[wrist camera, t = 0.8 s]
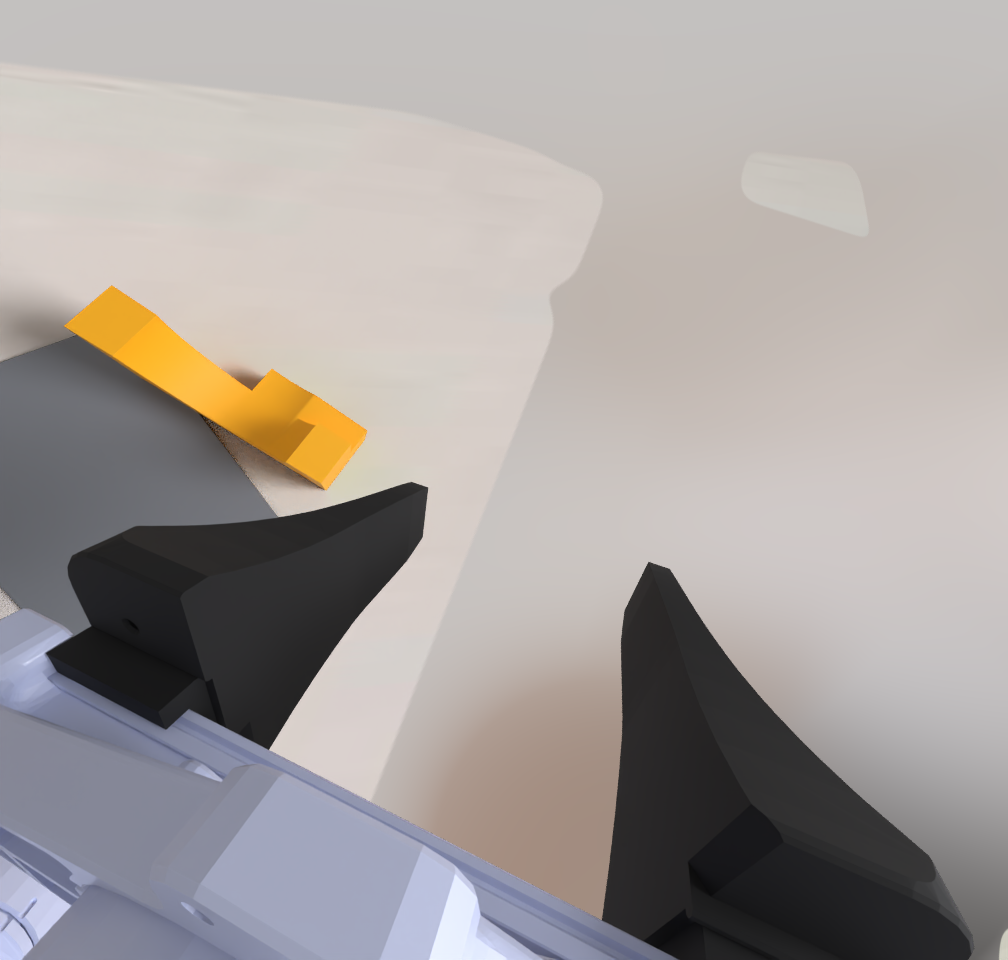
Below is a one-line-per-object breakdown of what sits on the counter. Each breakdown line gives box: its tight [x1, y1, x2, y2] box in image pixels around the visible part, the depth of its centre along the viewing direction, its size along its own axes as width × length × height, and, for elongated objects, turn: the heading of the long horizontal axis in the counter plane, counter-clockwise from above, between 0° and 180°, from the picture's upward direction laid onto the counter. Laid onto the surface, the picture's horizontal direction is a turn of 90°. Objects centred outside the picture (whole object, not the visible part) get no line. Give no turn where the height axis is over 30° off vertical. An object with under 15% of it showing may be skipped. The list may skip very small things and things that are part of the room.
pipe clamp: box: [64, 286, 367, 490], centre depth 21 cm, size 12×4×6 cm, turn 57°
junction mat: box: [0, 335, 278, 636], centre depth 21 cm, size 12×16×1 cm
